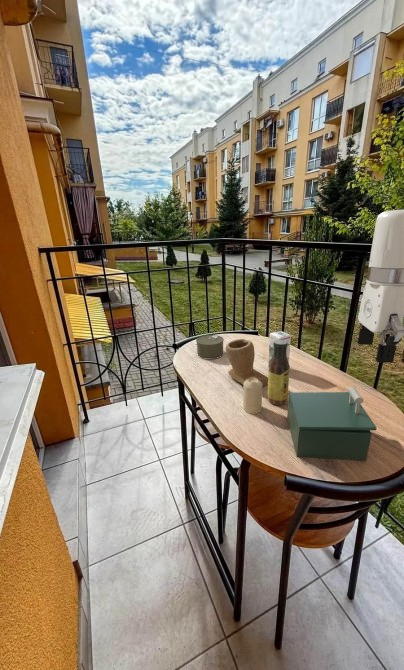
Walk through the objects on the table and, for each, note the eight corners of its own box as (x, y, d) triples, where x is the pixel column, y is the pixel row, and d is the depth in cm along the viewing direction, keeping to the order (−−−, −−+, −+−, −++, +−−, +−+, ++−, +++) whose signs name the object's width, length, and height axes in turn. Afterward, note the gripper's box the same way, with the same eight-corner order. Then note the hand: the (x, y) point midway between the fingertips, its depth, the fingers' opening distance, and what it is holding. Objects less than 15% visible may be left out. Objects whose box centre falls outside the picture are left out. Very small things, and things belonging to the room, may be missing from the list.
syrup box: (289, 369, 108) (291, 334, 103) (277, 373, 106) (279, 337, 101) (279, 364, 113) (281, 330, 108) (267, 367, 110) (269, 333, 105)
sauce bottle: (286, 407, 85) (291, 347, 78) (265, 404, 87) (268, 345, 80) (287, 396, 91) (292, 339, 84) (268, 393, 93) (271, 337, 86)
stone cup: (220, 375, 106) (219, 338, 100) (246, 368, 111) (246, 332, 105) (243, 394, 93) (243, 353, 88) (271, 385, 98) (273, 345, 93)
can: (191, 355, 124) (190, 341, 121) (206, 346, 133) (206, 333, 131) (214, 361, 117) (214, 346, 115) (228, 351, 126) (228, 337, 124)
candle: (259, 415, 82) (261, 385, 79) (241, 411, 84) (241, 382, 81) (262, 404, 87) (264, 376, 84) (245, 401, 89) (245, 373, 86)
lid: (352, 394, 75) (353, 376, 73) (376, 430, 62) (379, 409, 60) (289, 394, 78) (289, 377, 76) (299, 429, 64) (299, 409, 62)
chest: (344, 421, 78) (348, 397, 76) (366, 461, 65) (371, 433, 62) (287, 418, 80) (288, 395, 78) (296, 456, 67) (299, 429, 64)
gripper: (352, 270, 66) (343, 338, 72) (389, 283, 50) (372, 369, 56) (387, 269, 65) (374, 338, 71) (435, 282, 49) (413, 370, 55)
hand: (373, 352), depth 63 cm, fingers open, 9 cm apart
